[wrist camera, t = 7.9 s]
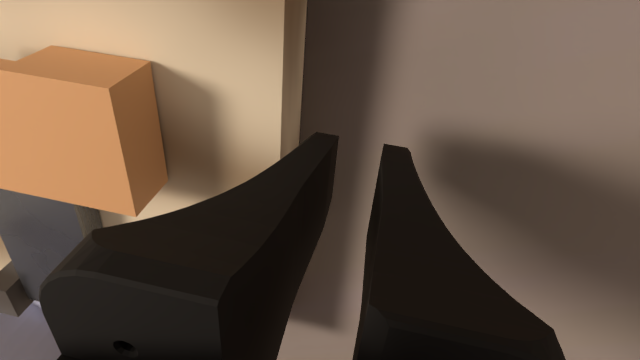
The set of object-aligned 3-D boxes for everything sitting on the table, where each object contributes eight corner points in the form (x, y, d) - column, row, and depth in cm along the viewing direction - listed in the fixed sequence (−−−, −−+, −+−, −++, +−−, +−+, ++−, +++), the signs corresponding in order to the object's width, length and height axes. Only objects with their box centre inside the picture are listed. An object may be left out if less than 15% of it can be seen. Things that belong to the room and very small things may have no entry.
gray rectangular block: (123, 305, 19) (109, 324, 18) (48, 287, 19) (31, 304, 19) (61, 69, 13) (35, 82, 12) (-46, 51, 13) (-77, 62, 13)
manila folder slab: (168, 180, 14) (136, 217, 13) (17, 150, 15) (-30, 181, 14) (150, 61, 12) (108, 88, 11) (-27, 32, 13) (-90, 54, 11)
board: (289, 308, 21) (262, 388, 17) (-29, 235, 23) (-105, 294, 20) (318, -193, 10) (263, -223, 7) (-273, -238, 12) (-520, -277, 9)
